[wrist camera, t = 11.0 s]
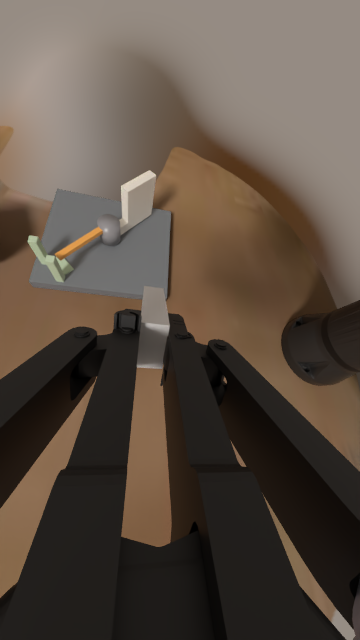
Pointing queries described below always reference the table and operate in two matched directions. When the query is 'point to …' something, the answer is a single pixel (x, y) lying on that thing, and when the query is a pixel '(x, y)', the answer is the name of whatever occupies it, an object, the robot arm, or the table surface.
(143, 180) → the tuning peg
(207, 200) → the table surface
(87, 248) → the lever toy board
